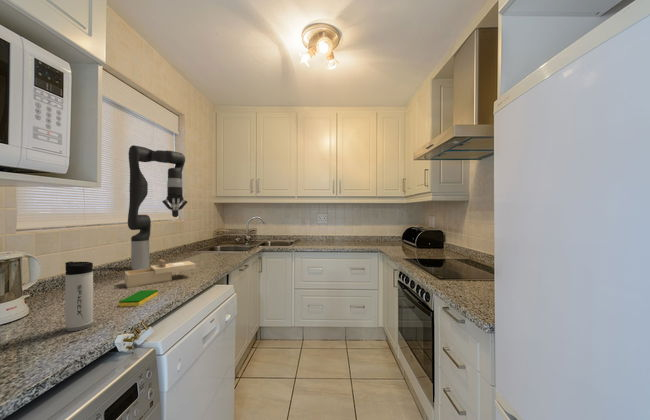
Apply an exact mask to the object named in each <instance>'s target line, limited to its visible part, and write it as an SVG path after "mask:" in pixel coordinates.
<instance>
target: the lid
mask: <svg viewBox="0 0 650 420" xmlns="http://www.w3.org/2000/svg"><path fill="white" fill-rule="evenodd" d="M149 268H152V269H153V270H154V271H155V274H160V273H167V272H173V273H174V272H181V271H187V270H194V269H196V268H197V267H196V263H194V262H192V261H189V260H187V261H179V262H170V263H166V260H164V259H161V258H160V259H158V264H156V265H149Z"/></svg>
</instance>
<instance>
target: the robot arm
mask: <svg viewBox="0 0 650 420" xmlns="http://www.w3.org/2000/svg"><path fill="white" fill-rule="evenodd" d="M149 162H150V163H151V162H157V163H161V164H162V163H164V164H172V165H174V167H170V168H168V170H167V184H166V186H167V187H166V188H167V193H166V194H167V196H166V198H165V199H164V200H161V202H162V203H163V205H164V206H165V207H166V208H167V209H168V210H170V211H171V215H172V217H173V218H177V217H179V211H180V210H183V208H184V207H185V206H186V204H188V201H187V200H185V199H184V197H183V187H184V186H183V169H184V167H185V163H186V157H185V154H184V153H182V152H180V151H179V152H178V151H175V150H152V149H150V148H148V147H144V146H141V145H140V146H139V145H135V144H133V145H131V146H130V147H129V148H128V165H129V166H128V167H129V188H128V189H129V205H128V212H127V213H128V215H127V227H128V229H129V230H130V231H131V230H132V231H139V232H138V233H136V234H134V235H132V236H131V237H130V240H131V241H130V242H131V244H130V245H131V248H130V251H131V252H130V253H131V254H130V255H131V256H130V257H131V258H130V259H131V261H130V265H131V266H130V269H131V271H133V270H140V269H148V268H150V237H151V229H152V228H151V227H152V224H151V223H152V222H151V217H150V216H149V215H148V214H139V209H140V206H141V204H142V203H143V202H144V200H146V198H147V196H148V193H149V192H148V190H149V189H148V181H147V179H146V177H145V176H144V174H143V172H142V171H141V168H140V163H149Z"/></svg>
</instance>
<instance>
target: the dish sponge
mask: <svg viewBox="0 0 650 420" xmlns="http://www.w3.org/2000/svg"><path fill="white" fill-rule="evenodd" d="M158 295H159V290H158V289H153V290H152V289H144V290H139V291H137V292H136V293H135V292H134V293H133V294H131V295H129V296H126V297H125V298H123V299H121V300H119V301H118V302H119V303H118V306H119V307H121V308H123V307H139V305H140V306H141V305H143V304H145V303H147V302H148V301H150V300H151V298H152V299H153V298H155V297H157V296H158ZM144 302H145V303H144Z"/></svg>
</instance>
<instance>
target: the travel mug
mask: <svg viewBox="0 0 650 420" xmlns="http://www.w3.org/2000/svg"><path fill="white" fill-rule="evenodd" d="M64 263H65V274H64V276H65V278H64V279H65V282H64V284H65V286H64V287H65V291H64V292H65V293H64V294H65V298H64V300H65V304H64V305H65V308H64V309H65V310H64V311H65V313H64V314H65V317H64V318H65V331H67V332H76V331H77V332H78V330H79V331H82V329H83V330H86V329H88V328H90V327H92V326H93V325H94V270H93V268H94V264H93V262H90V261H67V262H66V261H65V262H64ZM85 328H86V329H85Z"/></svg>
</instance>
